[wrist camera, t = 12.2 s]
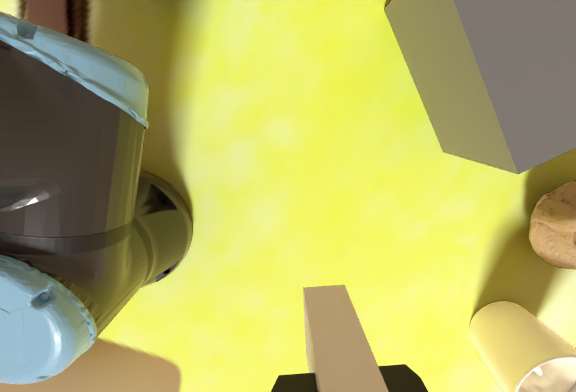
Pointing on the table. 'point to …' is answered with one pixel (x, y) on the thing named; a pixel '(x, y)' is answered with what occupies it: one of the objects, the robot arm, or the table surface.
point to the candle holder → (522, 350)
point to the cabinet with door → (493, 75)
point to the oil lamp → (555, 227)
